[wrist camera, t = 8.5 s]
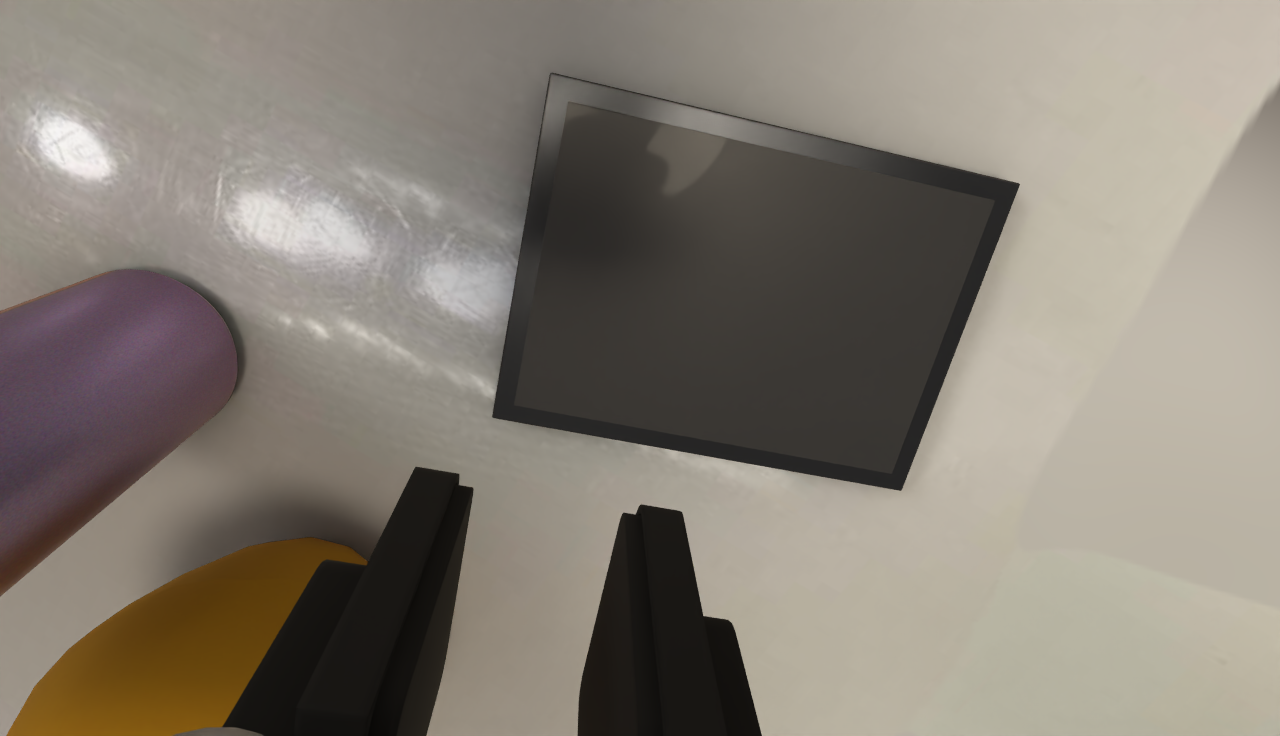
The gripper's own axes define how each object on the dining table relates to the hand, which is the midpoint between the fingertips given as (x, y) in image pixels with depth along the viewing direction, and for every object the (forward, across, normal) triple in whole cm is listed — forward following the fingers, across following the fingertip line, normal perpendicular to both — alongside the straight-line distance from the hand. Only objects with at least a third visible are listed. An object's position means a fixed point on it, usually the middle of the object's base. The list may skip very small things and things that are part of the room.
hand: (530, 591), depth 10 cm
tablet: (+18, -6, 0) cm, 19 cm away
